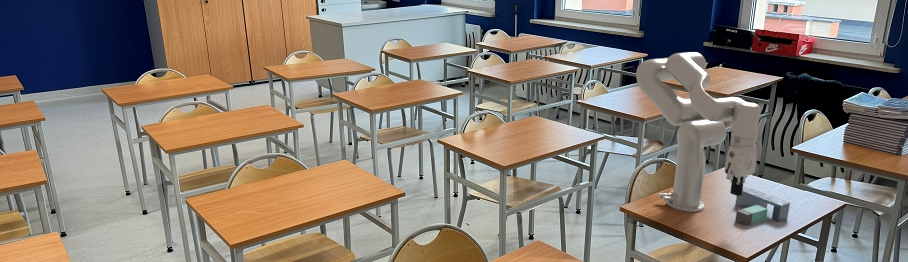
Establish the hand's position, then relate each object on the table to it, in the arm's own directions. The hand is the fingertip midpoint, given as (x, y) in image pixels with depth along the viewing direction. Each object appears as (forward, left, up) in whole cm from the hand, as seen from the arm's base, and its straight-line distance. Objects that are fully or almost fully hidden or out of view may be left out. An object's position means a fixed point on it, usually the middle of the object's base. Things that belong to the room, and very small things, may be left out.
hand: (735, 194), depth 212 cm
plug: (+9, +7, -12) cm, 16 cm away
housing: (+15, +15, -12) cm, 24 cm away
